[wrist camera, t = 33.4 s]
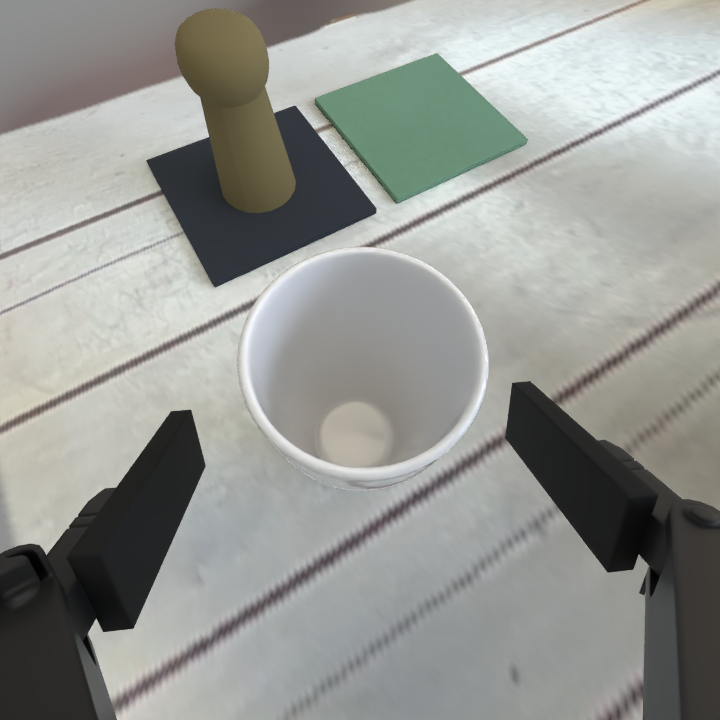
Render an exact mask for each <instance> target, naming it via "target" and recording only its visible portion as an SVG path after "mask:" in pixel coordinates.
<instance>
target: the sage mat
mask: <svg viewBox="0 0 720 720" xmlns="http://www.w3.org/2000/svg"><path fill="white" fill-rule="evenodd" d="M315 104H316V105H317V106H318V107H319V109H320V110H321V111H322V112H323V113H324V115H325V116H326V117H327V118H328V120H329V121H330V122H331V123H332V124H333V126H334V127H335V128H336V129H337V131H338V132H339V133H340V134H341V135H342V137H343V138H344V139H345V140H346V142H347V143H348V144H349V145H350V147H351V148H352V149H353V150H354V151H355V153H356V154H357V155H358V156H359V158H360V159H361V160H362V161H363V162H364V164H365V165H366V166H367V167H368V169H369V170H370V171H371V172H372V173H373V175H374V176H375V177H376V178H377V180H378V181H379V182H380V183H381V184H382V186H383V187H384V188H385V189H386V191H387V192H388V193H389V194H390V196H391V197H392V198H393V199H394V200H395V202H396V203H399V202H401V201H403V200H405V199H408V198H410V197H412V196H414V195H416V194H418V193H421V192H423V191H425V190H427V189H429V188H431V187H434V186H436V185H438V184H440V183H442V182H444V181H447V180H449V179H451V178H453V177H455V176H457V175H460V174H462V173H464V172H466V171H468V170H471V169H473V168H475V167H477V166H479V165H481V164H484V163H486V162H488V161H490V160H492V159H494V158H497V157H499V156H501V155H503V154H505V153H507V152H510V151H512V150H514V149H516V148H518V147H520V146H523V145H525V144H526V143H527V140H528V139H527V138H526V137H525V136H524V135H523V134H522V133H521V132H520V131H519V130H518V129H517V128H516V127H514V126H513V125H512V124H511V123H510V122H509V121H508V120H507V119H506V118H505V117H504V116H503V115H502V114H501V113H500V112H499V111H498V110H496V109H495V108H494V107H493V106H492V105H491V104H490V103H489V102H488V101H487V100H486V99H485V98H484V97H483V96H482V95H481V94H480V93H479V92H477V91H476V90H475V89H474V88H473V87H472V86H471V85H470V84H469V83H468V82H467V81H466V80H465V79H464V78H463V77H462V76H461V75H460V74H458V73H457V72H456V71H455V70H454V69H453V68H452V67H451V66H450V65H449V64H448V63H447V62H446V61H445V60H444V59H443V58H442V57H441V56H439V55H438V54H437V53H436V54H434V55H431V56H428V57H426V58H423V59H420V60H417V61H415V62H412V63H409V64H407V65H404V66H401V67H398V68H396V69H393V70H390V71H388V72H385V73H382V74H379V75H377V76H374V77H371V78H369V79H366V80H363V81H360V82H358V83H355V84H352V85H350V86H347V87H344V88H341V89H339V90H336V91H333V92H331V93H328V94H325V95H322V96H320V97H317V98H315Z"/></svg>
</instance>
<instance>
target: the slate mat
mask: <svg viewBox="0 0 720 720" xmlns="http://www.w3.org/2000/svg"><path fill="white" fill-rule="evenodd" d="M274 116H275V119H276V122H277V125H278V128H279V131H280V134H281V137H282V140H283V143H284V146H285V149H286V152H287V155H288V158H289V162H290V165H291V168H292V171H293V174H294V177H295V180H296V184H295V191H294V192H293V194H292V196H291V198H290V199H289V200H288V201H287V202H286V203H285V204H283V205H282V206H280V207H278V208H276V209H274V210H272V211H268V212H263V213H247V212H244V211H241V210H238V209H236V208H234V207H233V206H231V205H230V204H228V202H227V201H226V199H225V198H224V197H223V194H222V190H221V186H220V181H219V177H218V172H217V168H216V164H215V159H214V155H213V151H212V146H211V142H210V138H209V137H208V138H206V139H203V140H200V141H197V142H195V143H192V144H189V145H187V146H184V147H181V148H178V149H176V150H173V151H170V152H168V153H165V154H162V155H159V156H157V157H154V158H151V159H149V160H146V161H147V163H148V165H149V167H150V169H151V171H152V173H153V174H154V176H155V178H156V180H157V182H158V184H159V185H160V187H161V189H162V191H163V193H164V195H165V197H166V198H167V200H168V202H169V204H170V206H171V208H172V209H173V211H174V213H175V215H176V217H177V219H178V221H179V222H180V224H181V226H182V228H183V230H184V232H185V233H186V235H187V237H188V239H189V241H190V243H191V245H192V246H193V248H194V250H195V252H196V254H197V256H198V257H199V259H200V261H201V263H202V265H203V267H204V269H205V270H206V272H207V274H208V276H209V278H210V280H211V281H212V283H213V285H214V287H217V286H219V285H221V284H223V283H225V282H227V281H230V280H232V279H234V278H236V277H238V276H240V275H243V274H245V273H247V272H249V271H251V270H253V269H256V268H258V267H260V266H262V265H264V264H266V263H269V262H271V261H273V260H275V259H277V258H280V257H282V256H284V255H286V254H288V253H290V252H293V251H295V250H297V249H299V248H301V247H303V246H306V245H308V244H310V243H312V242H314V241H316V240H319V239H321V238H323V237H325V236H327V235H329V234H332V233H334V232H336V231H338V230H340V229H342V228H345V227H347V226H349V225H351V224H353V223H356V222H358V221H360V220H362V219H364V218H366V217H369V216H371V215H373V214H375V213H376V208H375V206H374V205H373V204H372V202H371V201H370V200H369V199H368V197H367V196H366V195H365V194H364V192H363V191H362V190H361V188H360V187H359V186H358V185H357V183H356V182H355V181H354V180H353V178H352V177H351V176H350V174H349V173H348V172H347V171H346V169H345V168H344V167H343V166H342V164H341V163H340V162H339V160H338V159H337V158H336V157H335V155H334V154H333V153H332V152H331V150H330V149H329V148H328V147H327V145H326V144H325V143H324V141H323V140H322V139H321V138H320V136H319V135H318V134H317V133H316V131H315V130H314V129H313V127H312V126H311V125H310V124H309V122H308V121H307V120H306V119H305V117H304V116H303V115H302V113H301V112H300V111H299V110H298V108H297V107H296V106H292V107H290V108H287V109H284V110H282V111H279V112H276V113H274Z"/></svg>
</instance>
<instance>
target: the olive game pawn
mask: <svg viewBox="0 0 720 720" xmlns="http://www.w3.org/2000/svg"><path fill="white" fill-rule="evenodd" d="M175 49H176V56H177V61H178V65H179V68H180V70H181V73H182V75H183V77H184V78H185V80H186V81H187V83H188V84H189V86H190V87H191V89H192V90H193V91H194V92H195V93H196V94H197V95H198V96H200V98H201V103H202V107H203V111H204V116H205V120H206V124H207V129H208V133H209V138H210V142H211V146H212V151H213V155H214V159H215V164H216V168H217V172H218V177H219V181H220V186H221V190H222V194H223V197H224V198H225V199H226V201H227V202H228V204H230V205H231V206H233V207H234V208H236V209H238V210H241V211H244V212H247V213H263V212H268V211H272V210H274V209H276V208H278V207H280V206H282V205H283V204H285V203H286V202H287V201H288V200H289V199H290V198H291V196H292V194H293V192H294V191H295V184H296V180H295V177H294V174H293V171H292V168H291V165H290V162H289V158H288V155H287V152H286V149H285V146H284V143H283V140H282V137H281V134H280V131H279V128H278V125H277V122H276V119H275V116H274V113H273V110H272V107H271V103H270V100H269V97H268V94H267V91H266V88H265V84H266V82H267V78H268V73H269V59H268V53H267V49H266V45H265V42H264V40H263V38H262V35H261V33H260V31H259V30H258V28H257V27H256V26H255V24H254V23H253V22H252V21H251V20H250V19H249V18H248V17H246V16H244V15H242V14H240V13H238V12H236V11H232V10H228V9H208V10H203V11H200V12H197V13H195V14H194V15H192V16H190V17H188V18H187V19H186V20H185V21H184V22H183V23H182V24H181V25H180V26H179V28H178V31H177V34H176V39H175Z"/></svg>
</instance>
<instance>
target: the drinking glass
mask: <svg viewBox="0 0 720 720" xmlns="http://www.w3.org/2000/svg"><path fill="white" fill-rule="evenodd" d="M488 362H489V361H488V350H487V345H486V340H485V336H484V333H483V329H482V327H481V324H480V322H479V319H478V317H477V315H476V313H475V312H474V310H473V308H472V306H471V305H470V303H469V302H468V300H467V299H466V298H465V296H464V295H463V294H462V293H461V291H460V290H459V289H458V288H457V287H456V286H455V285H454V284H453V283H452V282H451V281H450V280H449V279H447V278H446V277H445V276H444V275H443V274H441V273H440V272H439V271H437V270H436V269H434V268H433V267H431V266H429V265H428V264H426V263H424V262H422V261H420V260H418V259H416V258H413V257H411V256H408V255H406V254H403V253H399V252H396V251H392V250H387V249H381V248H373V247H350V248H341V249H336V250H330V251H327V252H323V253H320V254H317V255H314V256H312V257H309V258H307V259H305V260H303V261H301V262H299V263H297V264H295V265H294V266H292V267H290V268H289V269H287V270H286V271H285V272H283V273H282V274H281V275H279V276H278V277H277V278H276V279H275V280H274V281H272V283H271V284H270V285H269V286H268V287H267V288H266V289H265V290H264V291H263V292H262V294H261V295H260V296H259V297H258V299H257V300H256V302H255V304H254V305H253V307H252V308H251V310H250V312H249V314H248V316H247V318H246V321H245V323H244V326H243V329H242V333H241V336H240V341H239V347H238V357H237V366H238V378H239V384H240V388H241V392H242V396H243V398H244V401H245V404H246V406H247V409H248V411H249V412H250V414H251V416H252V418H253V420H254V421H255V423H256V424H257V426H258V427H259V429H260V430H261V432H262V433H263V434H264V435H265V437H266V438H267V439H268V440H269V442H270V443H271V444H272V445H273V446H274V448H275V449H276V450H277V451H278V452H279V453H280V454H281V455H282V456H283V457H284V458H285V459H286V460H287V461H288V462H289V463H290V464H291V465H292V466H294V467H295V468H296V469H297V470H299V471H300V472H302V473H303V474H305V475H306V476H308V477H309V478H311V479H313V480H315V481H317V482H319V483H321V484H324V485H327V486H329V487H333V488H336V489H340V490H347V491H360V492H361V491H373V490H380V489H384V488H388V487H391V486H394V485H397V484H399V483H402V482H404V481H406V480H408V479H410V478H412V477H414V476H416V475H418V474H419V473H421V472H422V471H424V470H425V469H427V468H428V467H429V466H431V465H432V464H433V463H434V462H436V461H437V460H438V459H439V458H440V457H442V456H443V455H444V454H445V453H446V452H447V451H448V450H450V449H451V448H452V447H453V446H454V445H455V444H456V443H457V442H458V441H459V440H460V439H461V438H462V436H463V435H464V434H465V432H466V431H467V430H468V429H469V427H470V425H471V424H472V422H473V421H474V419H475V417H476V415H477V413H478V411H479V409H480V406H481V404H482V401H483V398H484V395H485V390H486V386H487V380H488Z"/></svg>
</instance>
